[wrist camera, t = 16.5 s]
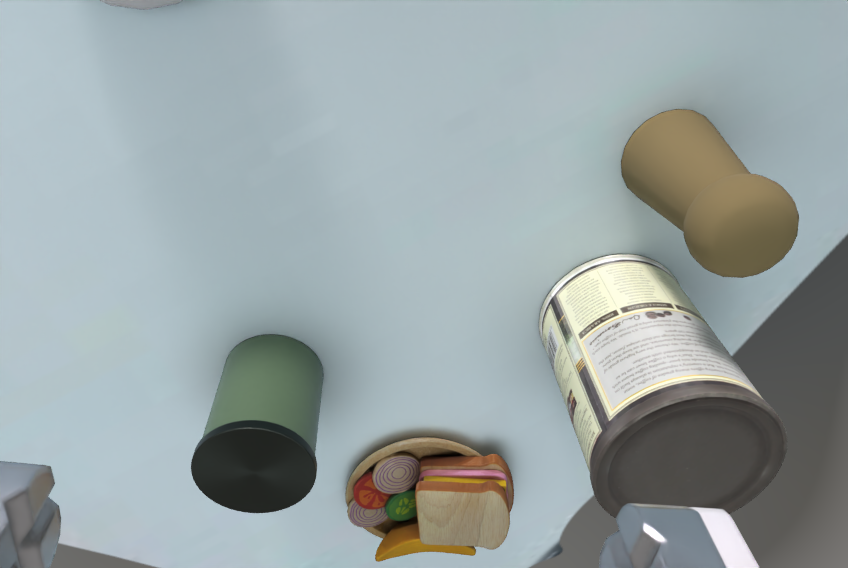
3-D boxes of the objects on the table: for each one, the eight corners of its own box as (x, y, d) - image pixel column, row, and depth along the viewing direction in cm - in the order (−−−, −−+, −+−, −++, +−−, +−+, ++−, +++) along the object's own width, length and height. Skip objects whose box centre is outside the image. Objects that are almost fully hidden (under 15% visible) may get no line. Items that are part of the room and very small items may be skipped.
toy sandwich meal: (347, 428, 51) (344, 475, 47) (519, 429, 52) (530, 476, 48) (345, 532, 58) (343, 582, 54) (498, 532, 59) (507, 580, 55)
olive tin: (222, 326, 45) (189, 423, 37) (330, 337, 46) (320, 433, 38) (221, 407, 49) (191, 509, 41) (321, 415, 50) (311, 516, 42)
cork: (626, 112, 39) (704, 189, 30) (727, 105, 39) (837, 179, 30) (616, 206, 42) (684, 301, 33) (709, 198, 42) (804, 291, 33)
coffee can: (703, 329, 48) (811, 482, 36) (576, 392, 50) (637, 554, 39) (650, 224, 43) (754, 361, 31) (511, 300, 46) (559, 453, 34)
